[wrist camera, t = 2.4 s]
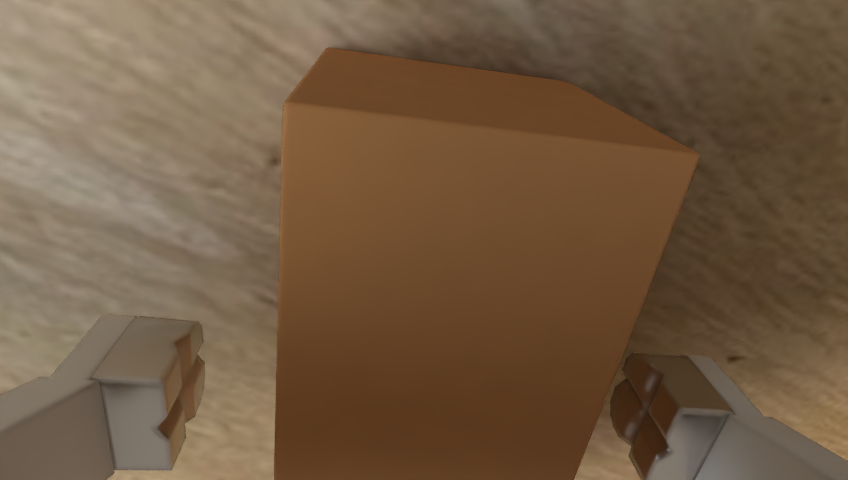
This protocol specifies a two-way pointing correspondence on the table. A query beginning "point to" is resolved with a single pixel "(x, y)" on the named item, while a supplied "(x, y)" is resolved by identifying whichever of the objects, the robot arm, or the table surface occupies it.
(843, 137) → the table surface
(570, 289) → the brown rectangular block
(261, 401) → the table surface
